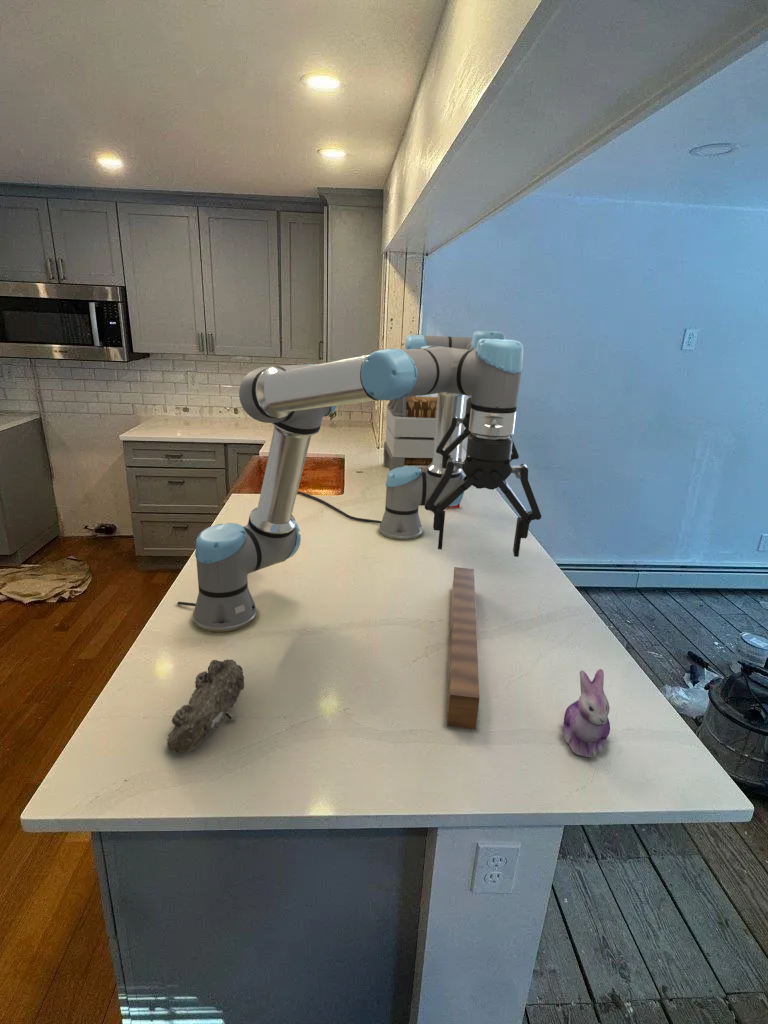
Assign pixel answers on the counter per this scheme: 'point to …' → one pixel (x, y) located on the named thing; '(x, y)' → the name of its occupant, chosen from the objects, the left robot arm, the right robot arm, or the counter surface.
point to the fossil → (206, 705)
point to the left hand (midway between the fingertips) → (477, 550)
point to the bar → (463, 653)
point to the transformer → (411, 432)
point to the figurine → (588, 717)
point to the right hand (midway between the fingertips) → (473, 483)
